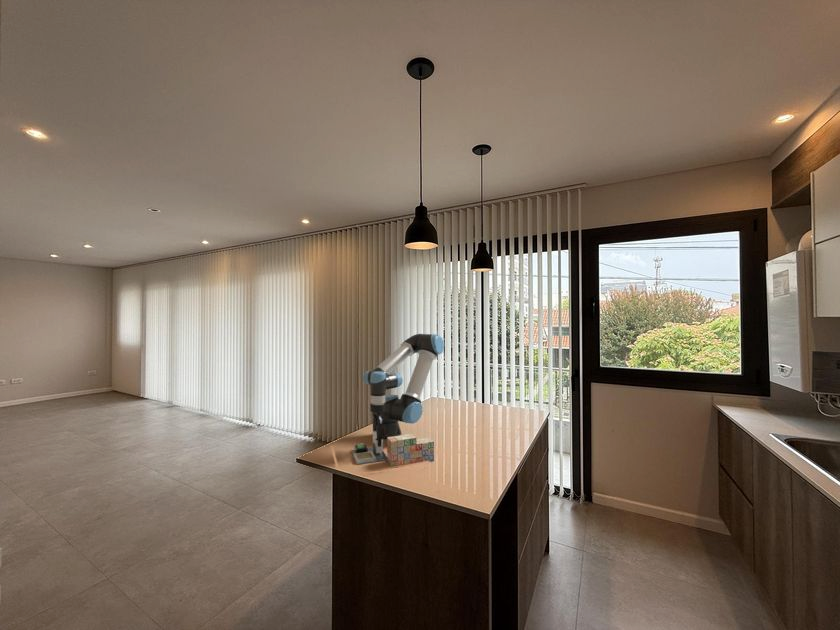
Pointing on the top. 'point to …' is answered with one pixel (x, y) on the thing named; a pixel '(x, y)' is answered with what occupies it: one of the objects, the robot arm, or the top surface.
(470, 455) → the top surface
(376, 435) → the cylinder
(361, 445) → the button
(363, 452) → the panel
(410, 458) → the stack of blocks
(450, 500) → the top surface
